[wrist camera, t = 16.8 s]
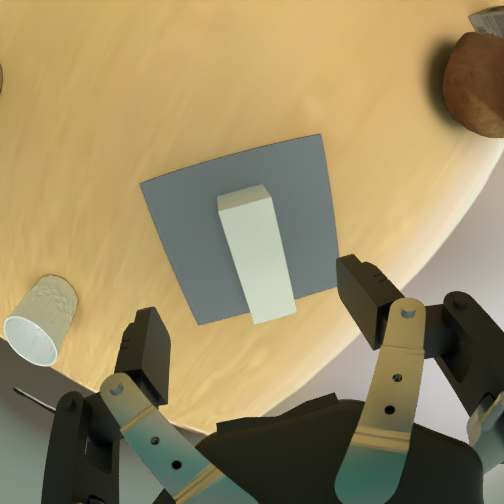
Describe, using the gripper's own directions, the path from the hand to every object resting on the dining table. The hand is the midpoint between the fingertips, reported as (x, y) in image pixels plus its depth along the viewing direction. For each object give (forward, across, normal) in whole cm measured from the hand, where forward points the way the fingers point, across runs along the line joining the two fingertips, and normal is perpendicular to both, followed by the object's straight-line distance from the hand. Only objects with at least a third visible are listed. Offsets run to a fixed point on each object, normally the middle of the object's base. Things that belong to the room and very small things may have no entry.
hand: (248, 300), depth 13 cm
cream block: (+18, -2, +15) cm, 24 cm away
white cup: (+22, +26, +8) cm, 35 cm away
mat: (+21, -2, +8) cm, 22 cm away
